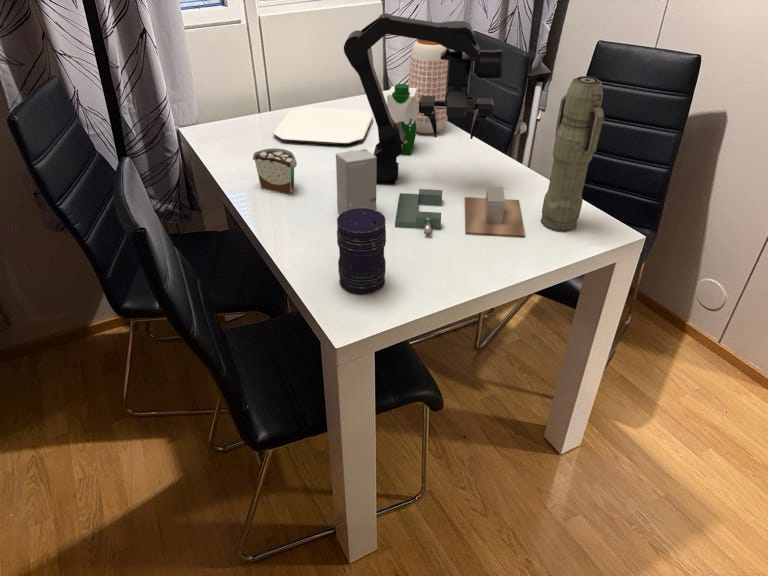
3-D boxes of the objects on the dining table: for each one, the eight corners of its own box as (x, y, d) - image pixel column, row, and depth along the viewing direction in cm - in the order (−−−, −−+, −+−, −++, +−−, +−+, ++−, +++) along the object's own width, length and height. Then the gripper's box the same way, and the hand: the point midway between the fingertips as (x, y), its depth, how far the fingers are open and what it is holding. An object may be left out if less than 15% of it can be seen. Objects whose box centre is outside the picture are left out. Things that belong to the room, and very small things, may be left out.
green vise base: (393, 235, 145) (393, 224, 143) (399, 198, 160) (399, 187, 158) (439, 238, 144) (440, 227, 142) (441, 200, 159) (442, 190, 158)
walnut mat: (465, 234, 146) (465, 232, 145) (464, 199, 160) (464, 197, 160) (524, 237, 145) (525, 235, 144) (518, 202, 159) (518, 199, 159)
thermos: (564, 238, 144) (596, 90, 124) (528, 218, 152) (552, 76, 132) (589, 228, 149) (624, 83, 128) (553, 208, 156) (580, 69, 136)
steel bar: (485, 222, 149) (488, 200, 145) (484, 207, 155) (487, 185, 152) (502, 223, 149) (505, 201, 145) (500, 208, 155) (503, 186, 152)
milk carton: (384, 154, 183) (384, 87, 171) (389, 142, 190) (390, 77, 178) (413, 157, 182) (416, 89, 170) (417, 145, 189) (420, 79, 177)
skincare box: (347, 223, 149) (345, 163, 140) (335, 211, 154) (333, 152, 145) (378, 216, 152) (378, 157, 143) (365, 204, 157) (365, 146, 148)
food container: (307, 187, 165) (305, 152, 159) (295, 197, 160) (292, 161, 154) (269, 178, 169) (265, 144, 163) (256, 187, 164) (251, 152, 159)
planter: (406, 121, 204) (408, 33, 188) (445, 122, 204) (452, 34, 188) (405, 137, 194) (408, 44, 177) (447, 138, 193) (454, 45, 177)
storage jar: (331, 289, 127) (327, 226, 118) (349, 264, 135) (348, 204, 126) (375, 299, 124) (375, 236, 116) (392, 274, 132) (393, 213, 123)
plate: (292, 111, 212) (292, 105, 211) (375, 116, 209) (375, 110, 208) (269, 144, 189) (268, 137, 188) (361, 150, 186) (361, 143, 185)
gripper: (418, 86, 145) (416, 148, 154) (498, 89, 144) (490, 152, 153) (421, 72, 154) (418, 131, 163) (495, 75, 153) (488, 135, 162)
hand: (453, 137), depth 160 cm, fingers open, 9 cm apart
